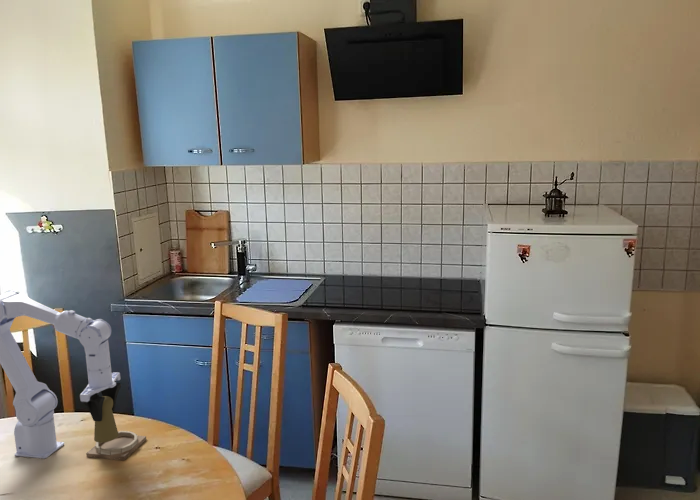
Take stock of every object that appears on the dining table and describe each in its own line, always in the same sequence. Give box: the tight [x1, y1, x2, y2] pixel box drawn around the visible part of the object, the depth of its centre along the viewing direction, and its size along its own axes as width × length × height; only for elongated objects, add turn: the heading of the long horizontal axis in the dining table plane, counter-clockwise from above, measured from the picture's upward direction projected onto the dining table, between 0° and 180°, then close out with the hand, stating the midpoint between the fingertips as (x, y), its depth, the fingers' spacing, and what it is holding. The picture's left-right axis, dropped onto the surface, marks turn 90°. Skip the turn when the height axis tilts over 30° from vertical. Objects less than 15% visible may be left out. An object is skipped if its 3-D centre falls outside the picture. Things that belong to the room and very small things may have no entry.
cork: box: [93, 396, 118, 443], centre depth 157 cm, size 6×6×11 cm
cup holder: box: [85, 430, 147, 461], centre depth 161 cm, size 11×11×2 cm
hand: (104, 415), depth 157 cm, fingers closed on cork, 5 cm apart
